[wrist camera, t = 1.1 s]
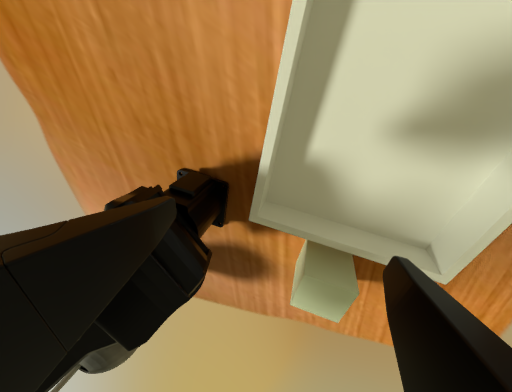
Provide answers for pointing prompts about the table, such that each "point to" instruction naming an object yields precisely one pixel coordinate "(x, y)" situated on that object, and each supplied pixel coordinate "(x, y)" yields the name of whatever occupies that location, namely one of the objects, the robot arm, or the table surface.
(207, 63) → the table surface
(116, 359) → the beverage cup
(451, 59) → the bin
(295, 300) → the sage block
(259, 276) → the table surface
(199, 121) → the table surface
